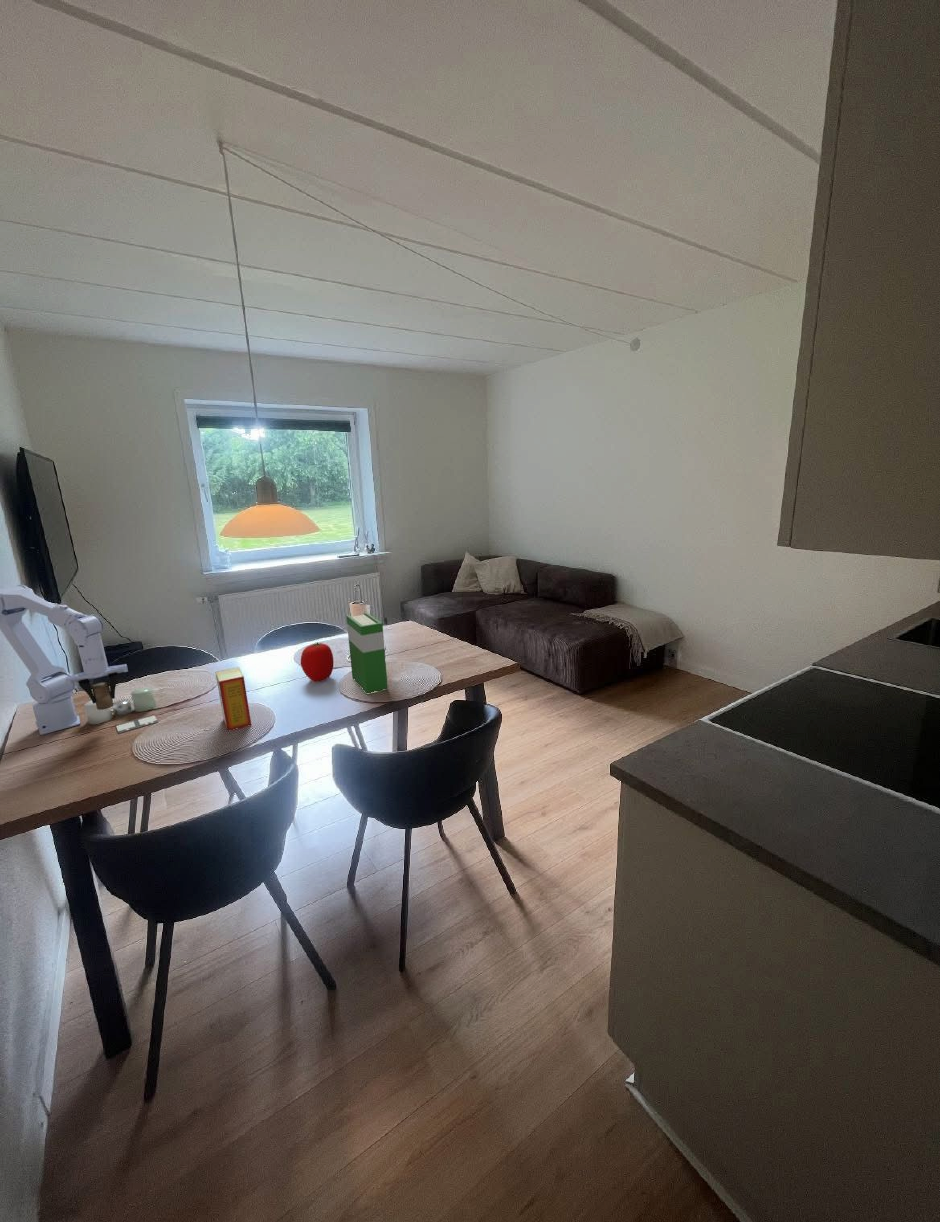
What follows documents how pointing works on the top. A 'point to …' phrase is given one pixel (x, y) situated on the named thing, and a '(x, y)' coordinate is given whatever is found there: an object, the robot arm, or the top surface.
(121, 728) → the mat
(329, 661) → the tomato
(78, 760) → the top surface
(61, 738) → the top surface
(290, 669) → the top surface
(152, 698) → the mug sage
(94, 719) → the mug white
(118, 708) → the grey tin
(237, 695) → the baking soda box
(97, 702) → the walnut peg
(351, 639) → the hardback book
